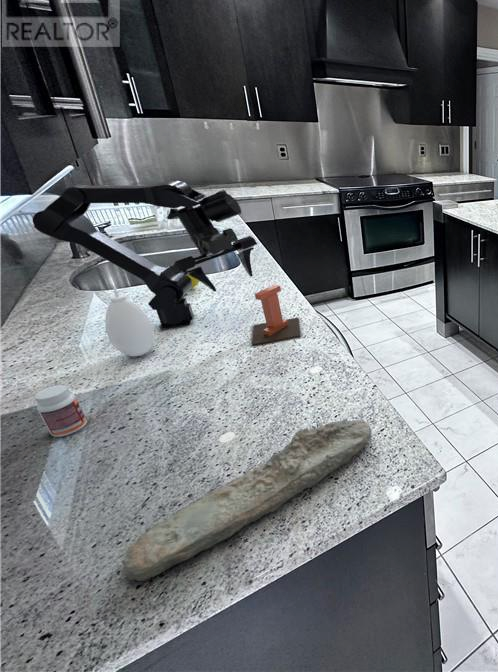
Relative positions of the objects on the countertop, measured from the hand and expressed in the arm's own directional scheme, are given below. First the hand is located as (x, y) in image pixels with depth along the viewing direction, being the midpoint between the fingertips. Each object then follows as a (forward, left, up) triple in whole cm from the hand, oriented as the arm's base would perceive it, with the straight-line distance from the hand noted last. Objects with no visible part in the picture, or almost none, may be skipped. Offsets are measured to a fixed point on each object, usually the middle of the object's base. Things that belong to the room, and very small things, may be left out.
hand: (234, 283), depth 108 cm
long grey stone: (+7, -64, -12) cm, 65 cm away
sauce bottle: (-21, -7, -12) cm, 25 cm away
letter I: (+8, -8, -12) cm, 16 cm away
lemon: (-16, +33, -12) cm, 38 cm away
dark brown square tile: (+8, -8, -12) cm, 17 cm away
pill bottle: (-26, -32, -12) cm, 43 cm away
